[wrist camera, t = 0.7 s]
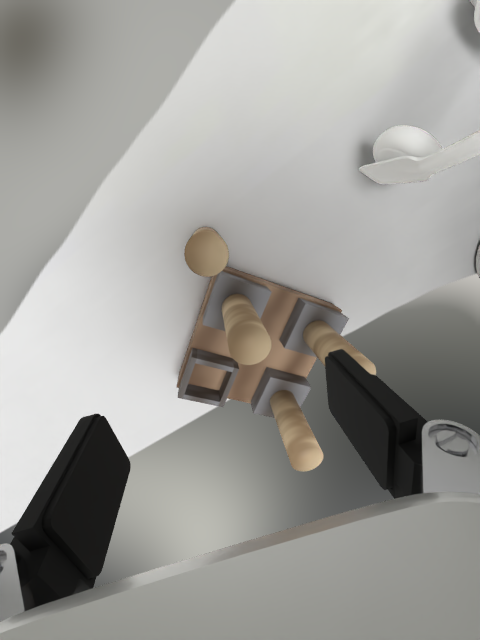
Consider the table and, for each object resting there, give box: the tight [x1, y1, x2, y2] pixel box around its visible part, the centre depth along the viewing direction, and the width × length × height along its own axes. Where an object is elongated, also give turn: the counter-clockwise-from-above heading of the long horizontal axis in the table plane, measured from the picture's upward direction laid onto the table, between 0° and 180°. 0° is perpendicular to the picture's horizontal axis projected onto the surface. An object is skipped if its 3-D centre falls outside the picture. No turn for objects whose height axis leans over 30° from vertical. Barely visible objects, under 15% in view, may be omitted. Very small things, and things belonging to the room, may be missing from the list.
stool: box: [177, 266, 376, 471], centre depth 31 cm, size 18×18×15 cm
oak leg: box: [184, 227, 229, 277], centre depth 26 cm, size 4×4×12 cm
